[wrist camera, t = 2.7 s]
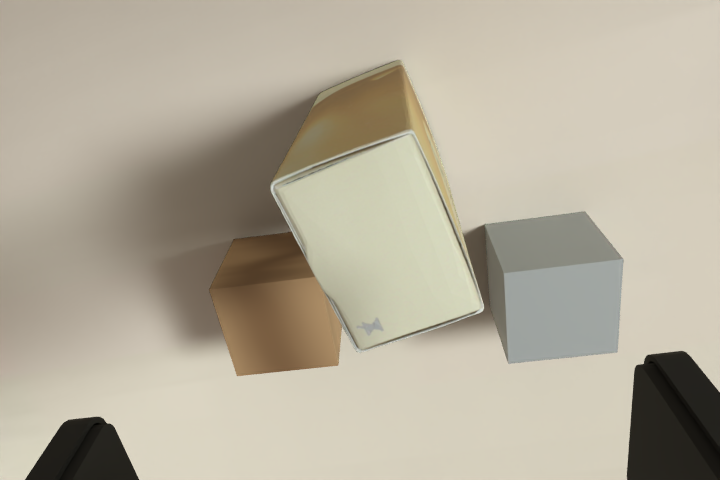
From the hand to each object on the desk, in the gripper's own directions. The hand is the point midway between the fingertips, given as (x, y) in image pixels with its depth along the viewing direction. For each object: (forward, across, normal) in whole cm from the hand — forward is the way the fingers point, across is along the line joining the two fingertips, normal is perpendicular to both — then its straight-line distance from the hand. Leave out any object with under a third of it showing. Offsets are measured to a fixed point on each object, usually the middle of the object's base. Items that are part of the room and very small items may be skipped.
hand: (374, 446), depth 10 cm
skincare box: (+19, -1, 0) cm, 19 cm away
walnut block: (+19, +5, +6) cm, 21 cm away
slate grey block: (+19, -8, +8) cm, 22 cm away
